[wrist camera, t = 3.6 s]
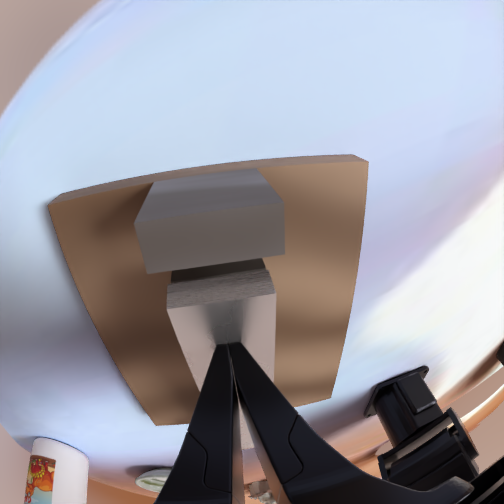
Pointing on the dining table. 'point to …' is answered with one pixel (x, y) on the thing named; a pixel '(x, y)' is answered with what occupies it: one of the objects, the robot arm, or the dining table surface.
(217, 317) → the bar
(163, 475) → the saucer
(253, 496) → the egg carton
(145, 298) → the base
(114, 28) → the dining table surface
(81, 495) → the milk bottle
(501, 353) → the mug
